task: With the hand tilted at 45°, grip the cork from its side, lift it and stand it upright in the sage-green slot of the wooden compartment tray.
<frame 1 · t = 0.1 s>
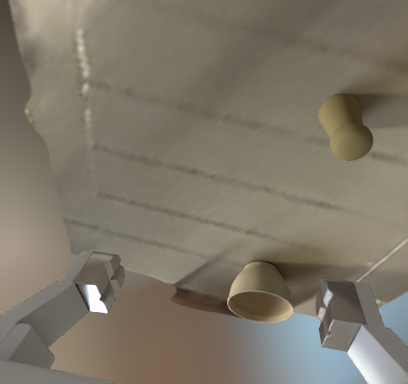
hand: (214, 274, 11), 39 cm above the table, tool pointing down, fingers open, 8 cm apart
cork: (338, 111, 45), on the table
planter bowl: (260, 270, 77), on the table
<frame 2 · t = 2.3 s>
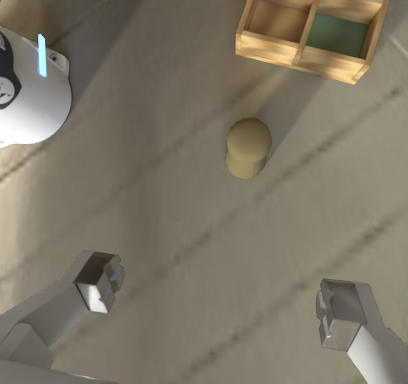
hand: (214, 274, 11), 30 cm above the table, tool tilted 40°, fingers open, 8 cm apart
wooden compartment tray: (310, 14, 43), on the table
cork: (245, 158, 42), on the table
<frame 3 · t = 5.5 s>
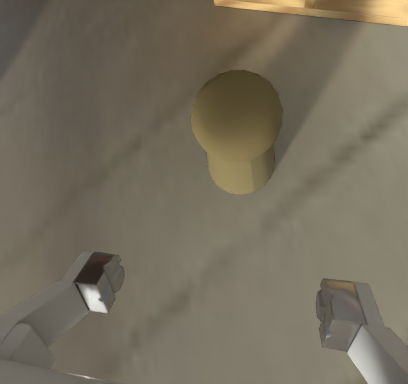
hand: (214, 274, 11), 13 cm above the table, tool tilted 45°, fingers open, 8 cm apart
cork: (240, 162, 25), on the table
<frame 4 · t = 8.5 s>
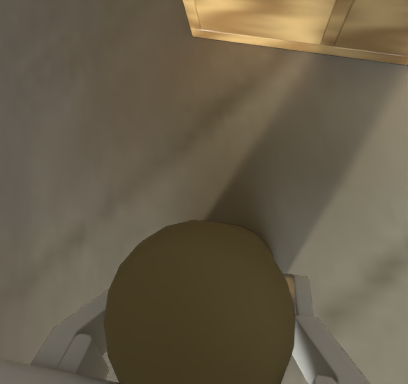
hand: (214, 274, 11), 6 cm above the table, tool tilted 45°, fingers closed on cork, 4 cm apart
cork: (226, 273, 17), on the table, touching gripper
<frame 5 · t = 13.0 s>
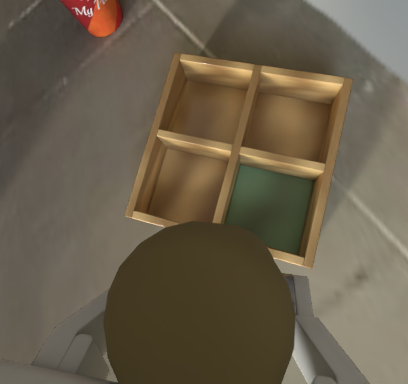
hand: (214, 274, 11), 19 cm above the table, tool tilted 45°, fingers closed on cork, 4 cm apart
paper cup: (104, 19, 38), on the table
wooden compartment tray: (237, 162, 32), on the table
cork: (226, 273, 17), point 13 cm above the table, touching gripper
when the fingers open (7 cm above the table, at t = 17.5 s): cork stays where it is, resting on wooden compartment tray.
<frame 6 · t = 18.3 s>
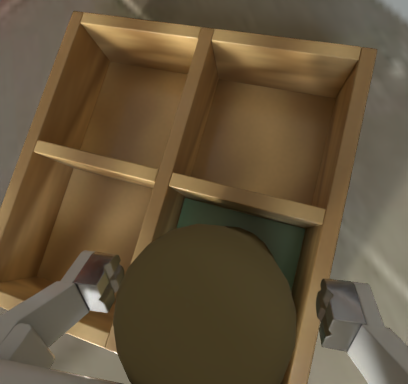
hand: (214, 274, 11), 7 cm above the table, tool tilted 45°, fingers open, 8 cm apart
wooden compartment tray: (183, 192, 20), on the table
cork: (228, 274, 17), point 1 cm above the table, touching wooden compartment tray
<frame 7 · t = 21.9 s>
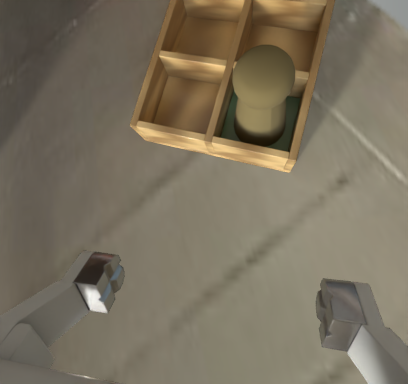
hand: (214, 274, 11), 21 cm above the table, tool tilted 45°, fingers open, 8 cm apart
wooden compartment tray: (232, 87, 35), on the table
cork: (259, 123, 33), point 1 cm above the table, touching wooden compartment tray
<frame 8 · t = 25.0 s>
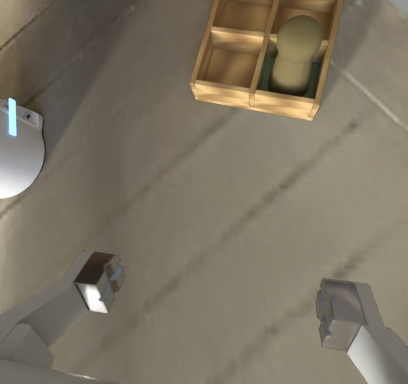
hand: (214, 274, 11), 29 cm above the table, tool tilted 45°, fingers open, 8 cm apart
wooden compartment tray: (265, 57, 44), on the table
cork: (287, 83, 42), point 1 cm above the table, touching wooden compartment tray
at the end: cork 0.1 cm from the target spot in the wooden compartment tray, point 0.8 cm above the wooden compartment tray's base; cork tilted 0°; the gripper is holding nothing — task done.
